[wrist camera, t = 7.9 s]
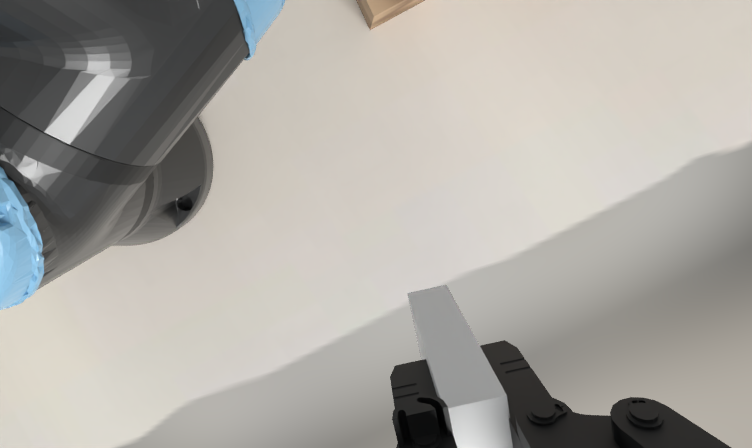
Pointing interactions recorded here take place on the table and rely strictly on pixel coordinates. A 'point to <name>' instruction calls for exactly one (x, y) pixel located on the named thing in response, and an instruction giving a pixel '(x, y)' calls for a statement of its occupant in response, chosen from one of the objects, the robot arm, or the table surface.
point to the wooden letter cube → (383, 9)
